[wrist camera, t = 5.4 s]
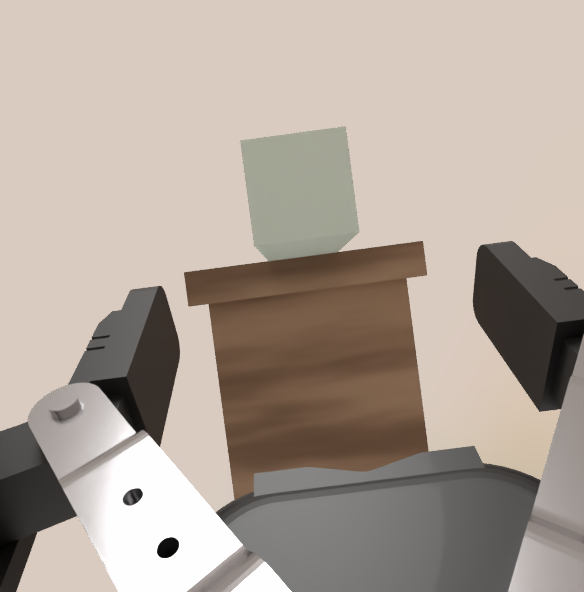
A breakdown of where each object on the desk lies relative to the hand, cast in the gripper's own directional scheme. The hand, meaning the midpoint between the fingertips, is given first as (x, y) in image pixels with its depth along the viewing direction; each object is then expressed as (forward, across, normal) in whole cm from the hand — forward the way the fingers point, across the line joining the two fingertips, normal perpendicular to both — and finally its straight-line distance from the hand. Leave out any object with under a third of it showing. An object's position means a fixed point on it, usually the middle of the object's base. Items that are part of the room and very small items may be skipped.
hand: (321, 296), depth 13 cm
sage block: (+17, 0, +8) cm, 19 cm away
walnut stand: (+4, 0, +37) cm, 37 cm away
